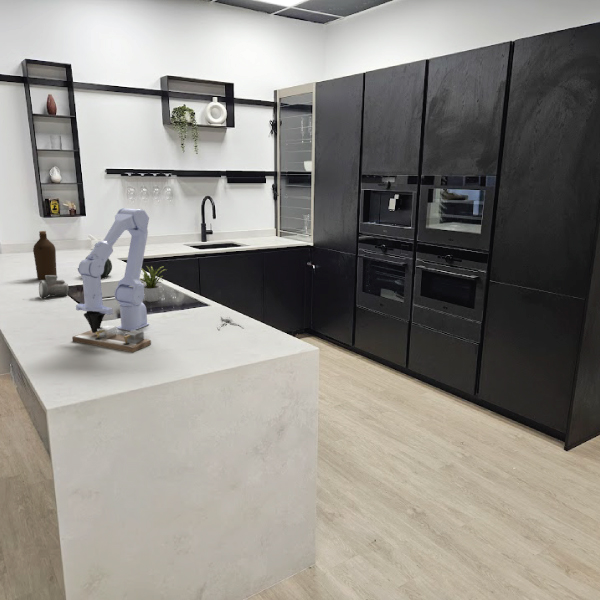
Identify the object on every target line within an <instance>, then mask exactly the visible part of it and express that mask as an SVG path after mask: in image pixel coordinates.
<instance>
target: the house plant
mask: <svg viewBox="0 0 600 600" xmlns="http://www.w3.org/2000/svg"><path fill="white" fill-rule="evenodd" d="M146 267H147V269H148V272H149V274H148V272H147V271H146V270H145V269H144V268H143V267H142V268H141V272H142V273H141V275H142V277H143V278H140V281H141V283H142V284H145V285H144V299H145V301H146V302H149V303H151V302H152V303H154V302H157V301H158V300H159V293H160V285H157V283H160V284H162V282H163V281H164V279H161V278H162V277H163V275H161V276H160V274H161V273H163V272H164V271H167V270H168V269H166V268H165V269H162V268H164V267H165V266H160V267H159V268H158V269H157V268H156V269H154V268H153V266H152V265H151V266H150V267H149V265H148V266H146ZM161 269H162V270H161ZM160 270H161V271H160Z"/></svg>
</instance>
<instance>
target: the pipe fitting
mask: <svg viewBox="0 0 600 600" xmlns="http://www.w3.org/2000/svg"><path fill="white" fill-rule="evenodd" d="M45 278H46V280H40V281H39V284H38V293H39V298H41V299H46V298H48V297H49V296H67V295H69V290H70V289H69V284H68V283H67V282H66V281H65V280H64V279H58V275H57V276H55V275H45Z"/></svg>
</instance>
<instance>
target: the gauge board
mask: <svg viewBox="0 0 600 600" xmlns="http://www.w3.org/2000/svg"><path fill="white" fill-rule="evenodd" d="M72 342H77V343H82V344H87V345H92V346H97V347H103V348H107V349H113V350H119V351H125V352H131V353H134V352H137V351H139V350H141V349H143V348H146V347H148V346H150V345H151V344H152V340H151V339H147V338H145V335H144V331H141V330H138V329H137V330H133V331H128V332H126V333H124V335H123V334H119V333H118V334H117V333H116V335H115V336H112V337H110V338H107V339H106V338H100V337H99V338H97V334H96V333H92V330H91V329H90V330H87V331H85V332H82V333H80V334H79V333H78V334H77V335H74V336H72Z"/></svg>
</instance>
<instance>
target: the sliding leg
mask: <svg viewBox="0 0 600 600" xmlns="http://www.w3.org/2000/svg"><path fill="white" fill-rule="evenodd" d="M116 327H117V326H114V325H104V326H100V328H98V329H97V332H96V334H97V338H99V337H100V338H106V339H107V338H110V337H112V336H115V335H116V334H117V328H116Z"/></svg>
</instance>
